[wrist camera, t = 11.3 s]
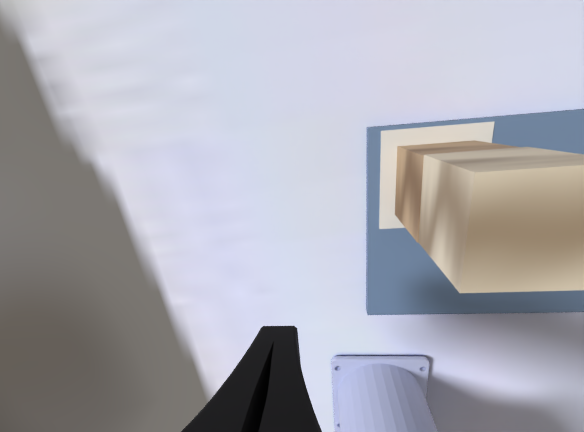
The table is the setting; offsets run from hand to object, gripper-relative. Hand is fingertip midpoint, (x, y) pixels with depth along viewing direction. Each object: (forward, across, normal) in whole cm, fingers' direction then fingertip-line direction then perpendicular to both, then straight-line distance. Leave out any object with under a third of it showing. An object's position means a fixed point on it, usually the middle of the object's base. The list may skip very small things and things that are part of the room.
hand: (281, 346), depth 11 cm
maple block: (+5, -9, -4) cm, 11 cm away
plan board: (+10, -13, 0) cm, 16 cm away
